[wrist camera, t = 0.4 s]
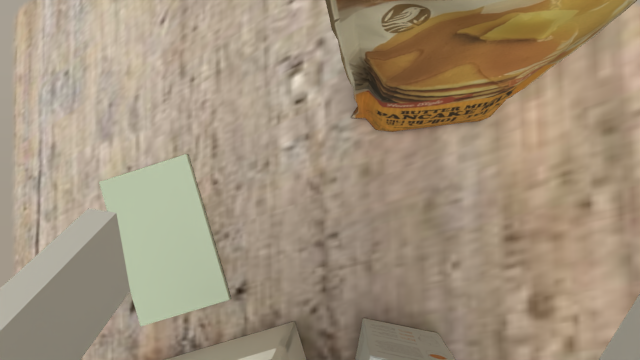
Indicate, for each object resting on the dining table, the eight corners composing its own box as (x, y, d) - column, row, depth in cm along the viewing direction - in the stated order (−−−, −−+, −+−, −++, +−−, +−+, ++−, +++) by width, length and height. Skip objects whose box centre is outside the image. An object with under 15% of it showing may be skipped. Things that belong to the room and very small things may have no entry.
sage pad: (231, 298, 46) (229, 299, 45) (143, 324, 46) (140, 326, 45) (188, 154, 46) (186, 154, 46) (102, 182, 47) (98, 182, 46)
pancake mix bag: (333, 77, 45) (310, -102, 17) (517, 53, 44) (808, -179, 16) (340, 140, 45) (329, 62, 17) (525, 118, 44) (834, -5, 16)
